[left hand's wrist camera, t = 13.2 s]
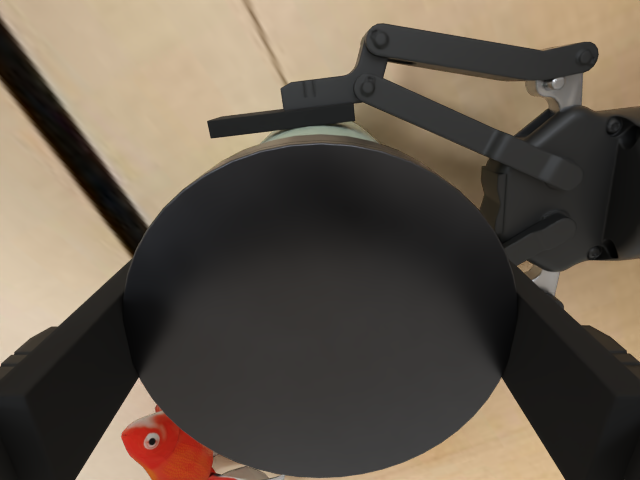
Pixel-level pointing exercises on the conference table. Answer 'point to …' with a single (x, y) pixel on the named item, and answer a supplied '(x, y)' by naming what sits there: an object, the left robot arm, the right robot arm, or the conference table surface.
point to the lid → (320, 307)
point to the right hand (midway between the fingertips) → (237, 227)
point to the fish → (176, 452)
